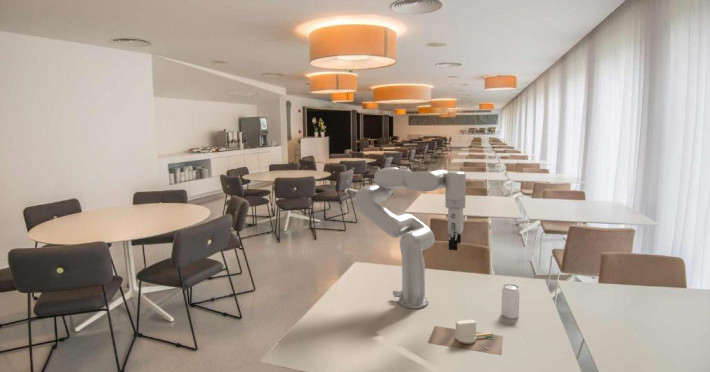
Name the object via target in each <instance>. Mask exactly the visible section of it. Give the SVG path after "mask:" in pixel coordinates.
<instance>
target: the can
mask: <svg viewBox="0 0 710 372" xmlns="http://www.w3.org/2000/svg"><path fill="white" fill-rule="evenodd" d="M502 287H503V288H502V289H501V316H502V317H504V318H506V319H509V320H511V319H512V320H515V319H517V318H518V317H519V316H520V289H519V286H518V285H516V284H511V283H506V284H504V285H503V286H502Z"/></svg>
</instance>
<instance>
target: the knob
mask: <svg viewBox="0 0 710 372" xmlns="http://www.w3.org/2000/svg"><path fill="white" fill-rule="evenodd" d="M455 329H456V334H455V338H456V340H457V341H459V342H461V343H465V344H471V343H474V342H475V341H476V337H481V336H490V335H494V332H481V333H482V334H476V332H477V321H475V320H474V319H472V318H471V319H463V320H456V321H455Z"/></svg>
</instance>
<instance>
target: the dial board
mask: <svg viewBox="0 0 710 372" xmlns="http://www.w3.org/2000/svg"><path fill="white" fill-rule="evenodd" d="M482 333H483V332H478V331H476V334H482ZM455 334H456V328H451V327H444V326H439V325H434V326H433V329H432V331H431V334H430V337H429V338H428V341H427V344H431V345H438V346H445V347H449V348H456V349H463V350H469V351H475V352H480V353H481V352H482V353H487V354H493V355H499V356H502V352H503V341H504V335H498V334H493V335H490V336H481V337H476V341H475V342H474V343H471V344H465V343H461V342H459V341H457V340H456V338H455Z"/></svg>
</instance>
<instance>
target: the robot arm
mask: <svg viewBox="0 0 710 372" xmlns="http://www.w3.org/2000/svg"><path fill="white" fill-rule="evenodd" d="M466 179H467V178H466V173H465V172H464V171H459V170H458V171H457V170H455V171H453V170H452V171H451V170H447V169H436V170H430V171H412V170H411V169H409V168H408V167H407V168H399V167H396V166H390V167H389V166H388V167H384V168H380V169H378V170H377V171H376V172H375V173H374V177H373V181H374V183H375V184H370V185H366V186H363V187H360V188H359V189H358V190H357V191H356V193H355V197H354V199H355V200H354V201H355V205H356V208H357V209H358V211H359V212H360V214H362V216H364V217H365V218H366V219H368V220H369V221H371V222H372V223H373V224H375V225H376V226H377V227H378V228H379V229H380V230H382V231H383V232H384V233H385V234H386V235H388V237H391V238H393V239H396V238H400V237H401V238H400V240H399V249H400V254H401V285H402V286H401V290H399V291H398V290H392V295H393V296H394V298H398V304H399V305H400V306H401V307H404V308H407V309H416V310H417V309H422V308H425V307H427V306H428V305H429V299H428V298H427V297H426V295H425V294H426V292H425V291H426V289H425V286H426V285H425V283H426V281H425V280H426V279H425V276H426V273H425V272H426V271H425V270H426V269H425V258H424V255H423V251H424V250H427V249H429V248H430V247H432V246H433V245H434V242H435V238H436V237H435V234H434V231H432V229H431V228H429V227H428V226H427V225H426V224H424V222H422V221H420V220H419V219H418V218H417V217H415V216H413V215H412V214H410V213H408V212H401V213H398V214H395V213H393V212H391V211H390V210H389V209H388V208H387V207H385V206H383V205H380V204H378V203H381V202H384V201H386V200H387V199H389V198H390V196H391V195H392V194H394V192H395V191H396V190H397V189H404V190H409V191H414V192H415V191H416V192H433V191H436V190H441V189H445V203H444V204H445V205H444V207H445V208H446V209H447V233H448V234H449V236H448V250H449V251H458V244H461V241H462V236H461V235H462V233H463V231H464V228H465V227H464V209H465V208H466V192H467V191H466V187H467V186H466V185H467V183H466V182H467V181H466Z"/></svg>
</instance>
